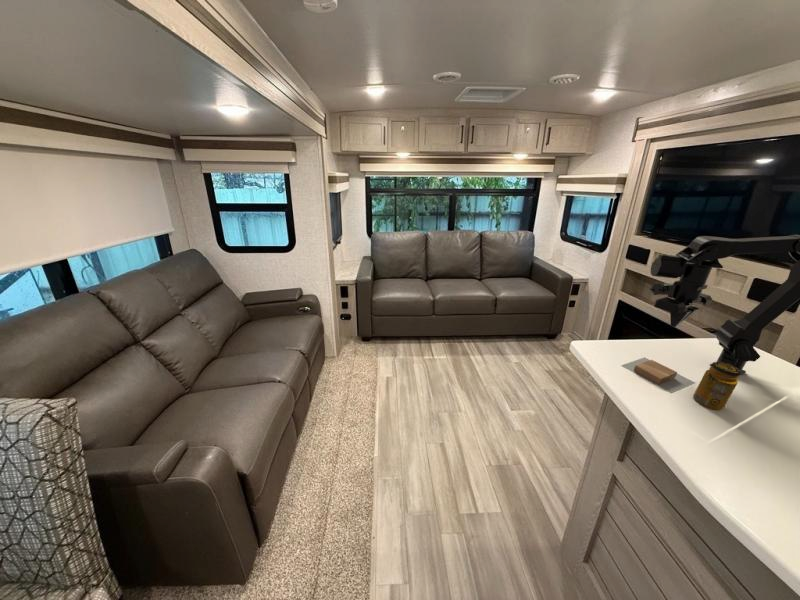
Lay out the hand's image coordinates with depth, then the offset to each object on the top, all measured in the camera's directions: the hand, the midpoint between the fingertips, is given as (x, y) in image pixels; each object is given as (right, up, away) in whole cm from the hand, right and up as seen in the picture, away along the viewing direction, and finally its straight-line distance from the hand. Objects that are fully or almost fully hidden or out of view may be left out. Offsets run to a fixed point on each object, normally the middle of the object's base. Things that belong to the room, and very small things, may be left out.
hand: (673, 326), depth 97 cm
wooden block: (-6, -13, -3) cm, 14 cm away
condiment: (-5, -20, -15) cm, 25 cm away
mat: (-8, -14, -3) cm, 17 cm away
